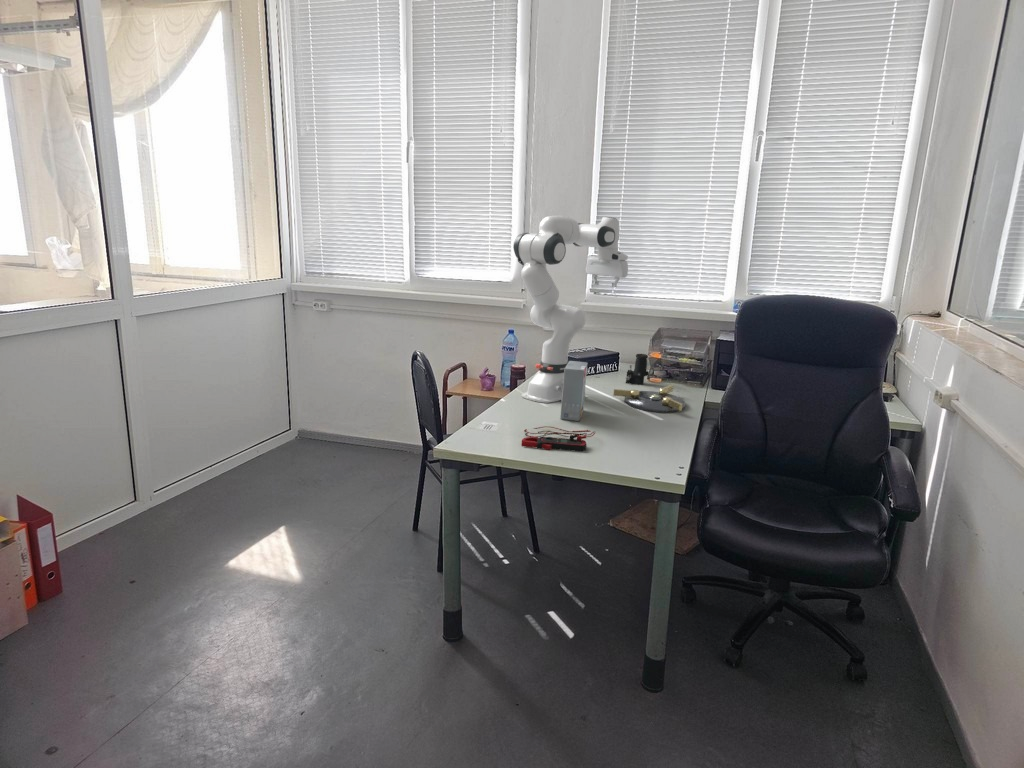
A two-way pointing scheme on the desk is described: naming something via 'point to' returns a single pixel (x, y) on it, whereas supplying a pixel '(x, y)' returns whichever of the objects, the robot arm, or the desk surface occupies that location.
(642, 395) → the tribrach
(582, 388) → the hard drive box
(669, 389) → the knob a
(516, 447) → the desk surface
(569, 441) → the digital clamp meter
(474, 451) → the desk surface
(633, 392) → the knob
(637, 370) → the scope
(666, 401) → the knob
